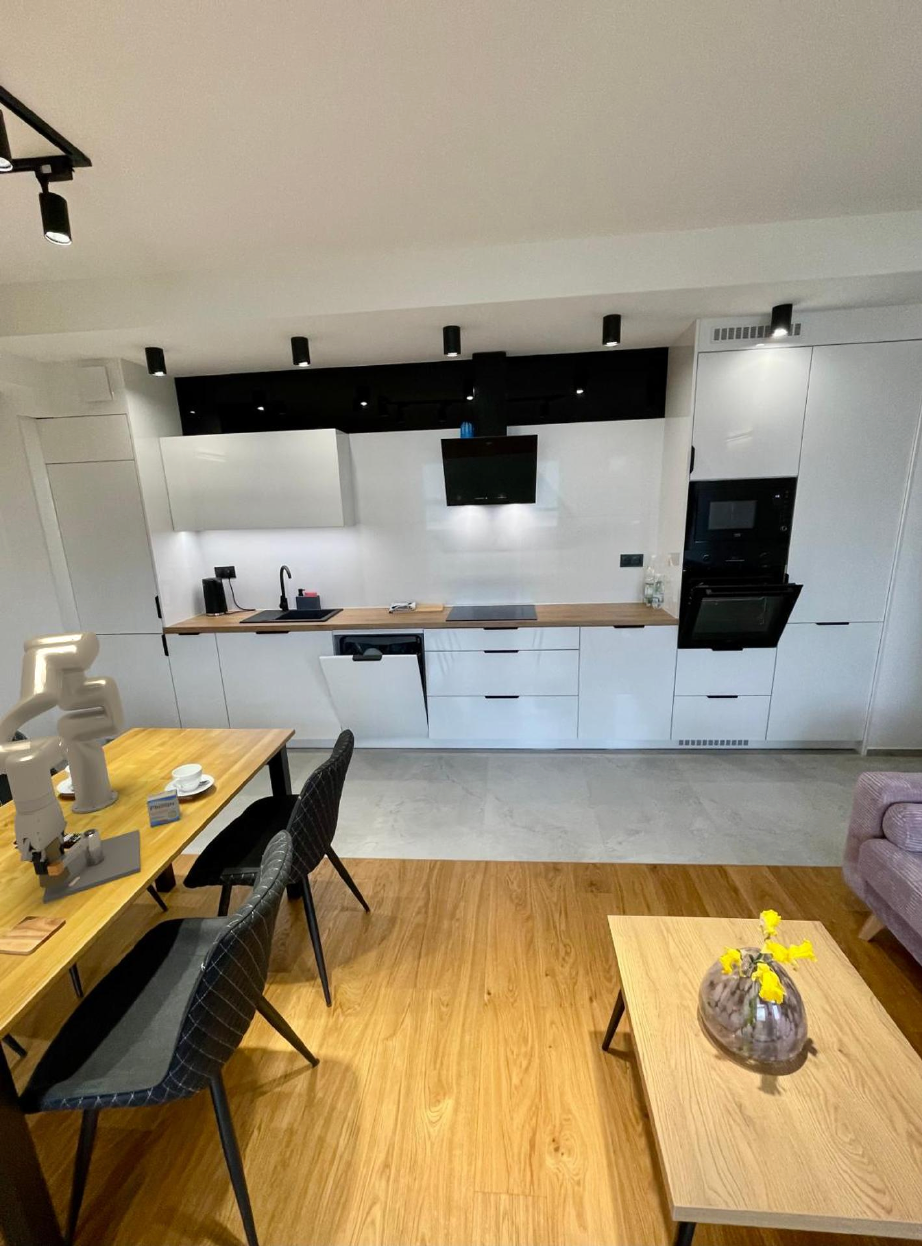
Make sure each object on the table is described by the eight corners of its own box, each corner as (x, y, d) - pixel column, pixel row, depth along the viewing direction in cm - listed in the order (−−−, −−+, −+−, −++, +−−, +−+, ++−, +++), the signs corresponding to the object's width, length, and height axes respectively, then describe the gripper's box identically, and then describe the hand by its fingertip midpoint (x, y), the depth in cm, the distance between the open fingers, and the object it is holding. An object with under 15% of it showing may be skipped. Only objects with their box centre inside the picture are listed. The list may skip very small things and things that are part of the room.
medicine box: (150, 828, 153) (145, 802, 151) (151, 820, 157) (147, 794, 155) (180, 820, 157) (176, 794, 155) (180, 813, 161) (176, 788, 159)
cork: (73, 877, 128) (64, 838, 125) (43, 891, 123) (33, 852, 121) (65, 867, 131) (56, 829, 129) (36, 880, 127) (26, 842, 124)
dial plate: (54, 858, 140) (53, 854, 140) (139, 833, 151) (138, 828, 150) (43, 903, 124) (42, 898, 124) (140, 871, 134) (139, 866, 134)
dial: (92, 855, 139) (86, 827, 137) (107, 854, 139) (102, 826, 137) (50, 896, 124) (43, 865, 122) (66, 895, 124) (60, 865, 122)
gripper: (44, 782, 130) (58, 845, 134) (-10, 822, 114) (8, 893, 118) (75, 780, 131) (88, 843, 135) (25, 820, 114) (43, 890, 118)
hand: (51, 865), depth 126 cm, fingers closed on cork, 4 cm apart
